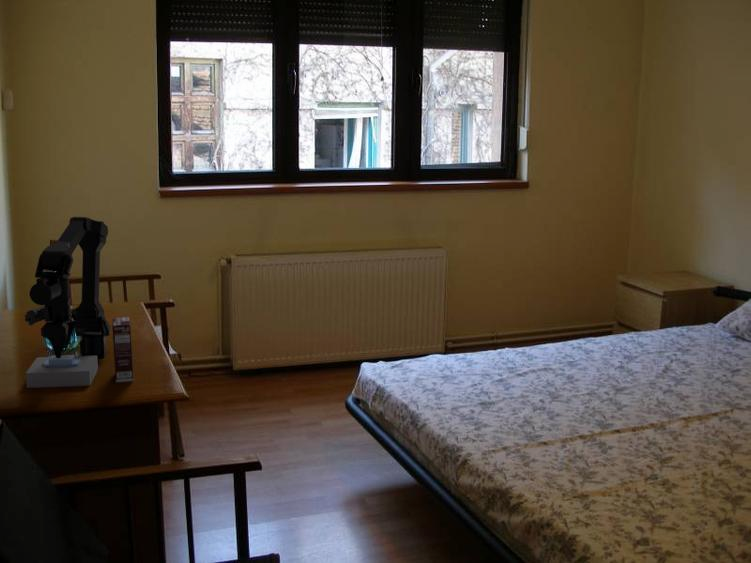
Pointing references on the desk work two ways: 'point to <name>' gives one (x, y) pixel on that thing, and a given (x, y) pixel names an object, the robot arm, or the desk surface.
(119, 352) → the supplement box
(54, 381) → the chassis
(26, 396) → the desk surface
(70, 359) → the block
